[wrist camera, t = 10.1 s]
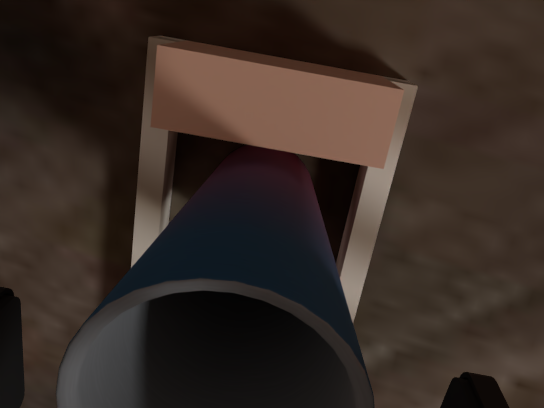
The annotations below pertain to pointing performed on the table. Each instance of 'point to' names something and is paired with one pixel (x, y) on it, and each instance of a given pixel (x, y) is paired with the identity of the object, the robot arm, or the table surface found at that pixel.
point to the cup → (226, 306)
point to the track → (271, 130)
